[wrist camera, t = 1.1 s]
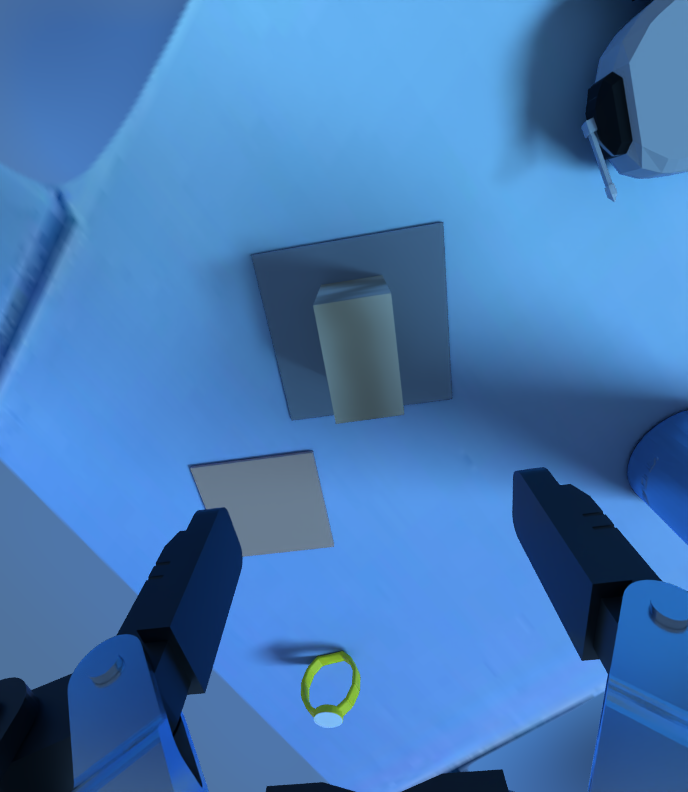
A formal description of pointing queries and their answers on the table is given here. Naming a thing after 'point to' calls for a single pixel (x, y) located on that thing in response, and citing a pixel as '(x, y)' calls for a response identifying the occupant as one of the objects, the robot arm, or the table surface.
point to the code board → (348, 260)
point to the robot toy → (642, 97)
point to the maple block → (359, 349)
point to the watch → (327, 713)
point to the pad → (269, 501)
